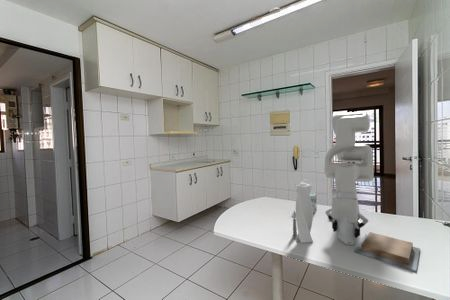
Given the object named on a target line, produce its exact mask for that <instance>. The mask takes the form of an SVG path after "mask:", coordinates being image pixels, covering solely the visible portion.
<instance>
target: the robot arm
mask: <svg viewBox="0 0 450 300" xmlns="http://www.w3.org/2000/svg"><path fill="white" fill-rule="evenodd" d="M370 125H371V121H370V117H369V114H368V113H367V112H366V111H357V112H346V113H345V112H344V113H343V112H342V113H339V114H335V115H333V116H332V117H331V126H332V127H331V128H332V130H333V133H334V135H335V144H334V145H332V146H331V148H329V150H328V151H327V152H326V155H325V157H324V175H325V177H326V178H328V179H334V189H332V190H331V193H332V194H334V195H333V196H332V202H331V208H330V209H327V210H326V211H325V212H324V213H325V215H326V216H327V218H328V219H329V221H330V222H331V228H332V229H333V230H332V231H333V232H334V233H335V232H338V228H337V220H341V221H343V217H346V218H347V222H349V223H353V224H354V230H355V239H358V237H359V236H361V228H364V226H366V224H368V222H369V219H368V218H367V217H366V216H364V215H363V214H361V213H360V206H359V200H358V198H357V197H358V194H357V193H358V192H357V191H358V190H357V188H356V182H361V183H362V182H363V183H369V182H371V181H373V180H374V174H375V173H374V159H373V150H372V147H371V146H370V145H369V144H363V143H359V144H358V143H356V133H359V134H360V133H367V132H368V131H369V129H370V127H371V126H370ZM335 156H336V157H337V160H338V161H340V162H332V160H333V158H334V157H335ZM361 221H362V222H361Z"/></svg>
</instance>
